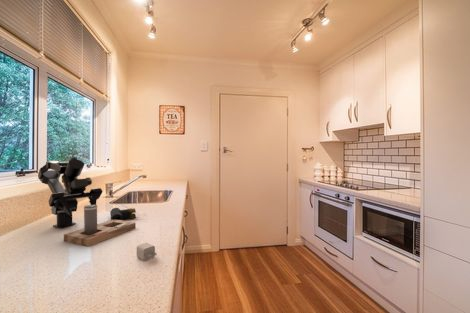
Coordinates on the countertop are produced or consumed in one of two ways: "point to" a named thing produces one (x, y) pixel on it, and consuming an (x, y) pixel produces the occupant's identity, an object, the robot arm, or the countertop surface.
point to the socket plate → (100, 232)
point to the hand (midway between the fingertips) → (83, 212)
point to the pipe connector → (122, 214)
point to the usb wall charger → (146, 251)
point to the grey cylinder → (90, 219)
